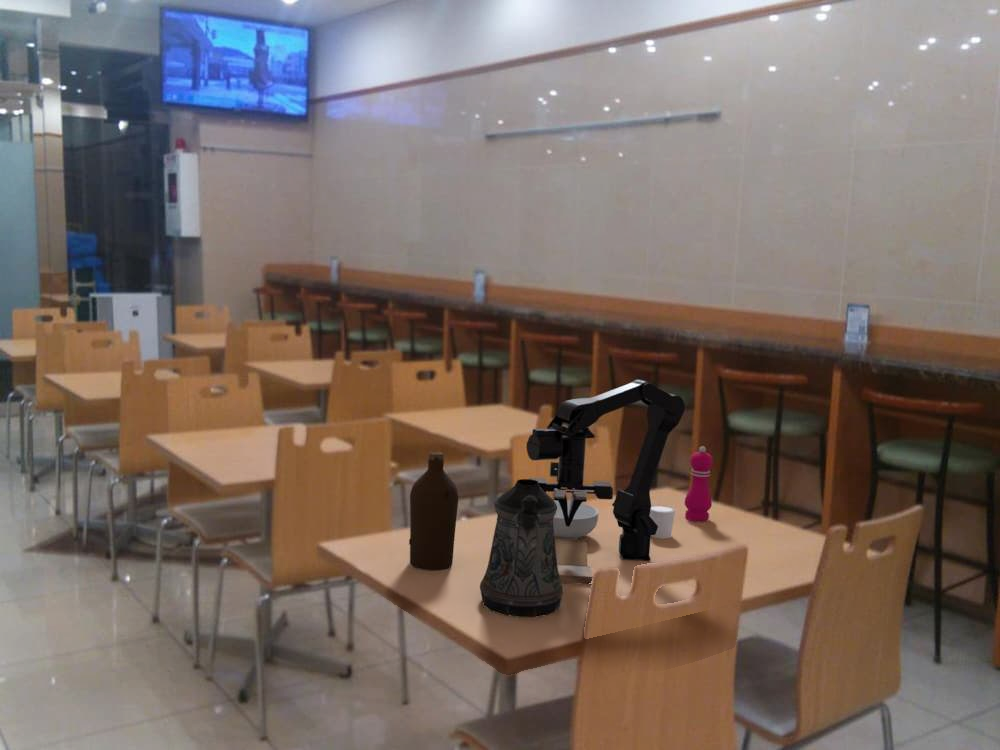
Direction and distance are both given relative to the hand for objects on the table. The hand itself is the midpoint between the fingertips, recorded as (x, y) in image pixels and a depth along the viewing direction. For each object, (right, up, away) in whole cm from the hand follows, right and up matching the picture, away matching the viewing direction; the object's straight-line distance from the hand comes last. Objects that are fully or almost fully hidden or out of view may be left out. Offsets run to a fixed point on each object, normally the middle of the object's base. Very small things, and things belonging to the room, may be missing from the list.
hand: (567, 525), depth 226 cm
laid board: (-4, -10, -8) cm, 13 cm away
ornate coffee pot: (-10, -12, -26) cm, 30 cm away
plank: (-4, -6, -1) cm, 8 cm away
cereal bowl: (0, -6, +24) cm, 25 cm away
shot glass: (+25, -7, +29) cm, 39 cm away
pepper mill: (+38, -5, +47) cm, 61 cm away
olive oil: (-30, -8, -3) cm, 32 cm away
